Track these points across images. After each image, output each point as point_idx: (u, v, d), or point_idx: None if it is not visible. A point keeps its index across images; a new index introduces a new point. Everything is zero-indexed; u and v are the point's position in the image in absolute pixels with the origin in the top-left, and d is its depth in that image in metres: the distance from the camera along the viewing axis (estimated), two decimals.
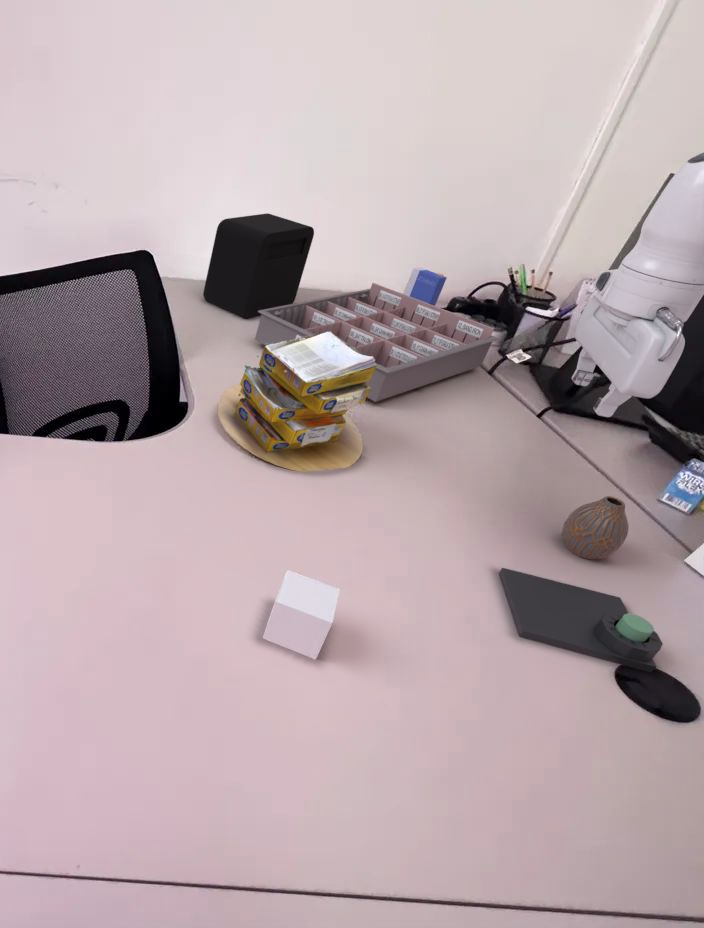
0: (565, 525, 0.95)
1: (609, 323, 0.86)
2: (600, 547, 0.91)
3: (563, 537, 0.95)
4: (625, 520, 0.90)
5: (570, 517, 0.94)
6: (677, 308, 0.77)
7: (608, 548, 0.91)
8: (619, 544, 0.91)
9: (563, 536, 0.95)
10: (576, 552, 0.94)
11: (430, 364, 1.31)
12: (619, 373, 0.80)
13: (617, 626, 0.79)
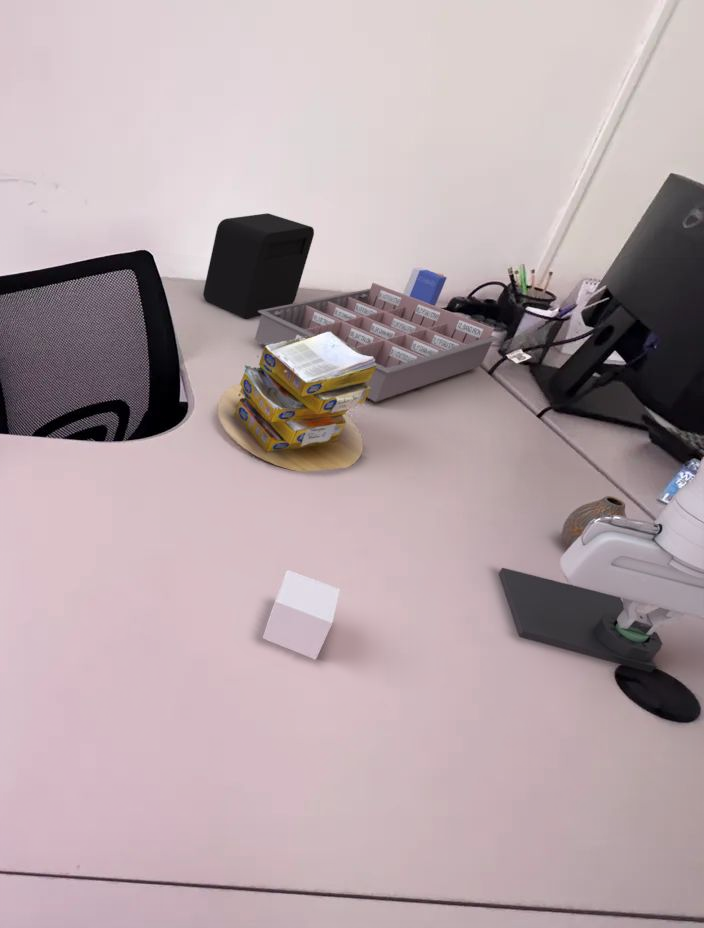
0: (565, 525, 0.95)
1: None
2: None
3: (563, 537, 0.95)
4: None
5: (570, 517, 0.94)
6: (668, 532, 0.70)
7: None
8: None
9: (563, 536, 0.95)
10: None
11: (430, 364, 1.31)
12: None
13: None
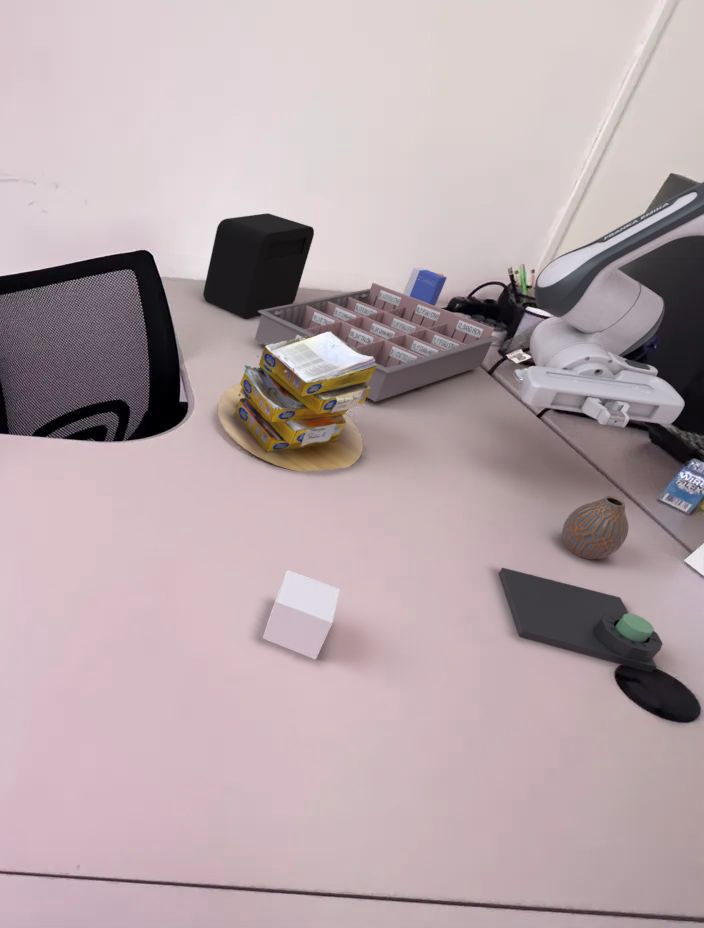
0: (565, 525, 0.95)
1: None
2: (600, 547, 0.91)
3: (563, 537, 0.95)
4: (625, 520, 0.90)
5: (570, 517, 0.94)
6: (556, 365, 1.06)
7: (609, 548, 0.91)
8: (619, 544, 0.91)
9: (563, 536, 0.95)
10: (576, 552, 0.94)
11: (430, 364, 1.31)
12: None
13: (617, 626, 0.79)
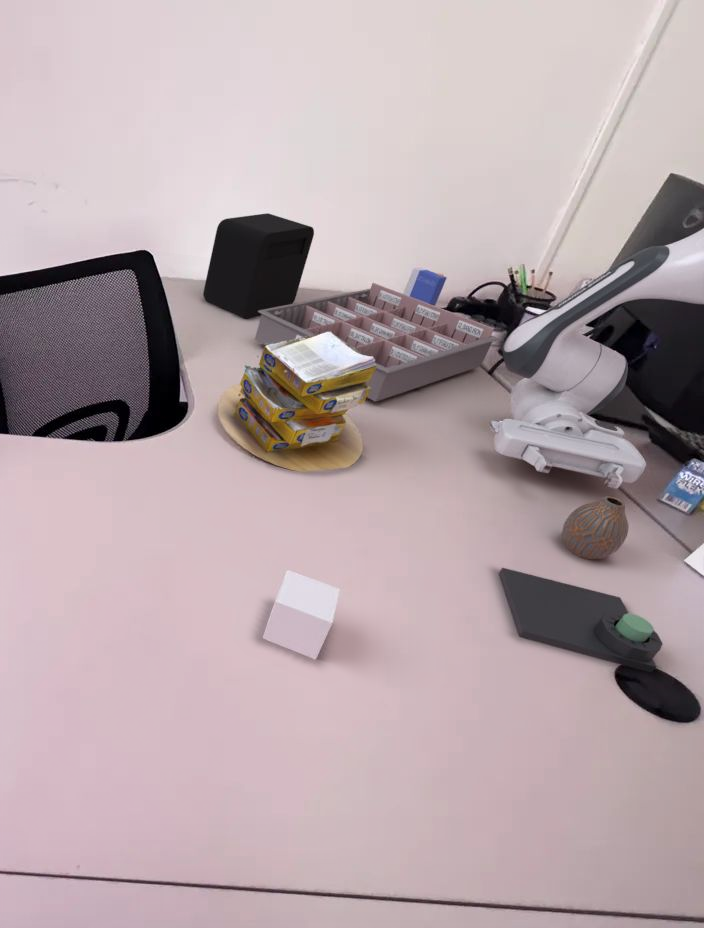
0: (565, 525, 0.95)
1: None
2: (600, 547, 0.91)
3: (563, 537, 0.95)
4: (625, 520, 0.90)
5: (570, 517, 0.94)
6: (530, 420, 1.12)
7: (608, 548, 0.91)
8: (619, 544, 0.91)
9: (563, 536, 0.95)
10: (576, 552, 0.94)
11: (430, 364, 1.31)
12: None
13: (617, 626, 0.79)
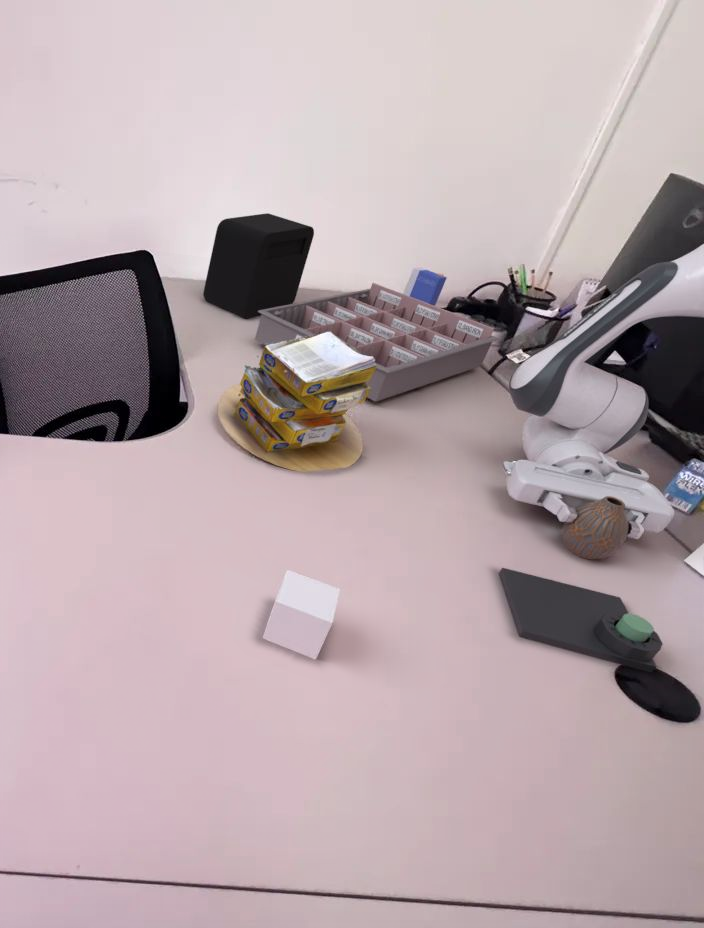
0: (565, 525, 0.95)
1: None
2: (600, 547, 0.91)
3: (563, 537, 0.95)
4: (625, 520, 0.90)
5: None
6: (546, 461, 1.03)
7: (608, 548, 0.91)
8: (619, 544, 0.91)
9: (563, 536, 0.95)
10: (576, 552, 0.94)
11: (430, 364, 1.31)
12: None
13: (617, 626, 0.79)
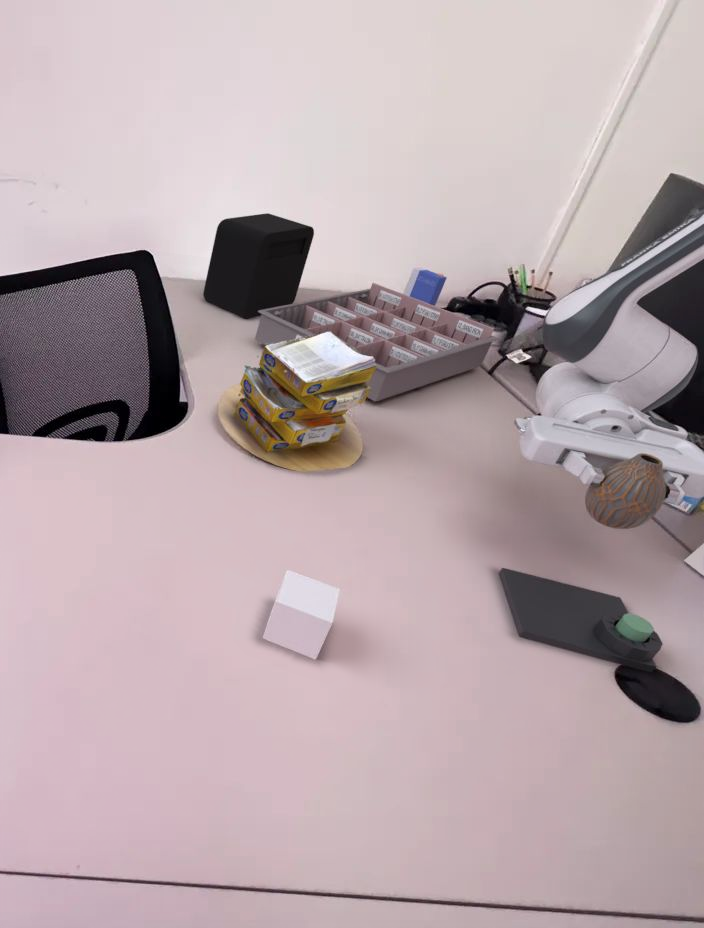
0: (589, 489, 0.80)
1: None
2: (632, 514, 0.77)
3: (587, 503, 0.81)
4: (662, 481, 0.76)
5: None
6: (566, 417, 0.89)
7: (642, 515, 0.77)
8: (655, 510, 0.76)
9: (587, 502, 0.81)
10: (602, 520, 0.79)
11: (430, 364, 1.31)
12: None
13: (617, 626, 0.79)
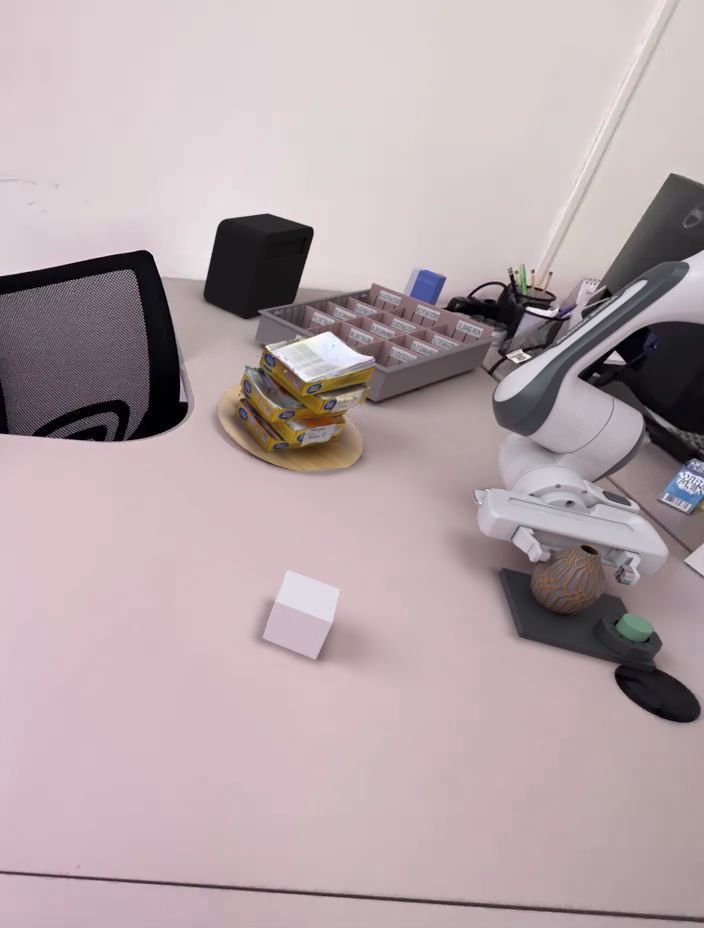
0: (534, 574, 0.83)
1: None
2: (573, 602, 0.80)
3: (532, 588, 0.84)
4: (601, 571, 0.79)
5: (540, 565, 0.83)
6: (523, 489, 0.91)
7: (583, 603, 0.79)
8: (594, 598, 0.79)
9: (532, 587, 0.84)
10: (546, 606, 0.82)
11: (430, 364, 1.31)
12: None
13: (617, 626, 0.79)
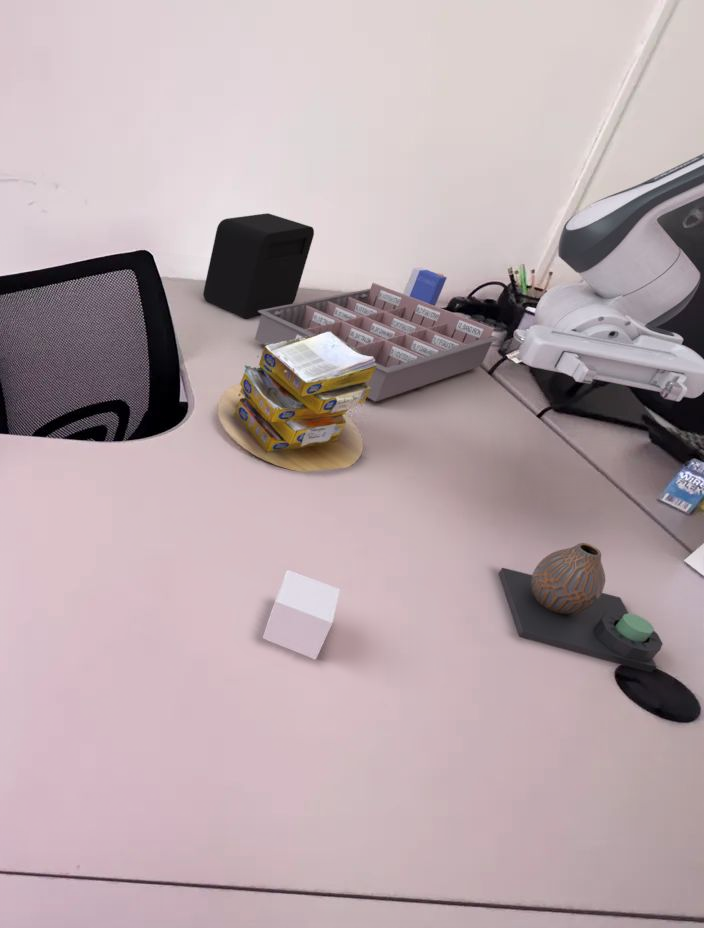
0: (534, 574, 0.83)
1: None
2: (573, 602, 0.80)
3: (532, 588, 0.84)
4: (601, 571, 0.79)
5: (540, 565, 0.83)
6: (564, 328, 0.91)
7: (583, 603, 0.79)
8: (594, 598, 0.79)
9: (532, 587, 0.84)
10: (546, 606, 0.82)
11: (430, 364, 1.31)
12: None
13: (617, 626, 0.79)
